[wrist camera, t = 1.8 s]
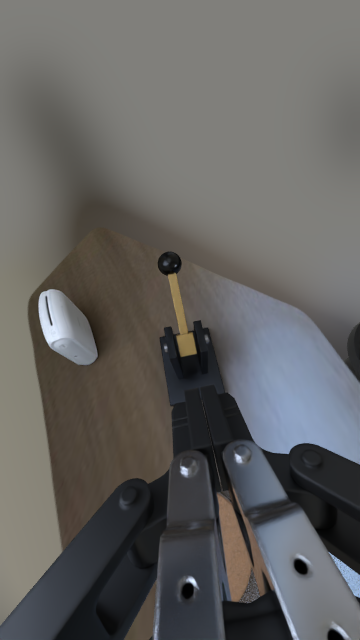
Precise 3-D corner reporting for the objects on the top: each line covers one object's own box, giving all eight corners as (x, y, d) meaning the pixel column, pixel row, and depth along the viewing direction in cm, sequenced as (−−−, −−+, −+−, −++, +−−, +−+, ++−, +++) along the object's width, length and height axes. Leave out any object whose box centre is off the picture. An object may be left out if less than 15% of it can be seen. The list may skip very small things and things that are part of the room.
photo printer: (101, 360, 45) (68, 333, 34) (79, 369, 45) (38, 346, 34) (88, 315, 50) (55, 279, 39) (68, 323, 49) (28, 289, 38)
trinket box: (151, 501, 35) (133, 520, 27) (218, 465, 36) (221, 473, 28) (182, 599, 30) (173, 659, 22) (258, 554, 32) (277, 595, 23)
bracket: (160, 340, 46) (145, 306, 34) (207, 330, 46) (208, 293, 34) (171, 406, 40) (157, 392, 29) (224, 395, 40) (232, 377, 29)
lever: (156, 257, 35) (154, 251, 31) (178, 252, 35) (178, 246, 31) (177, 354, 35) (176, 358, 32) (199, 349, 35) (201, 353, 32)
